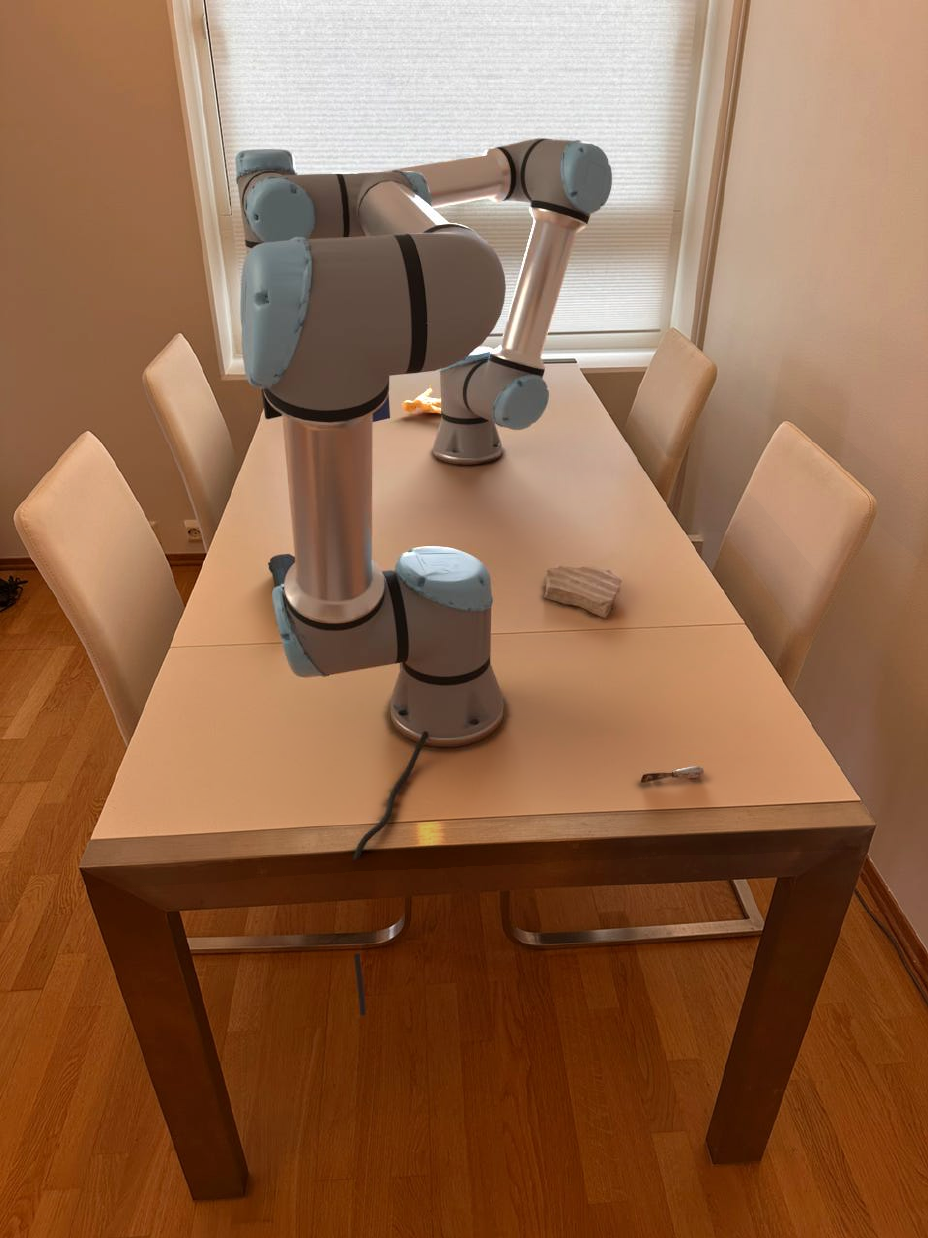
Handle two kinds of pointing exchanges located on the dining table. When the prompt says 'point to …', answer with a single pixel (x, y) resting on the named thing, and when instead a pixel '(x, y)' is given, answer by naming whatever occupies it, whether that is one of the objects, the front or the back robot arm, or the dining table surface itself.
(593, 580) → the stone
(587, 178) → the back robot arm
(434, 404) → the human figure
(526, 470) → the dining table surface
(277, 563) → the handgun
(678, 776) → the putty knife
